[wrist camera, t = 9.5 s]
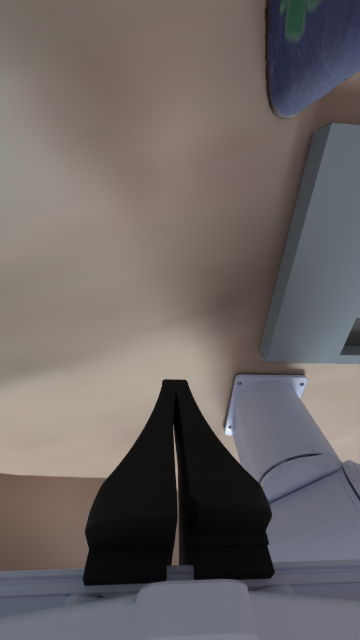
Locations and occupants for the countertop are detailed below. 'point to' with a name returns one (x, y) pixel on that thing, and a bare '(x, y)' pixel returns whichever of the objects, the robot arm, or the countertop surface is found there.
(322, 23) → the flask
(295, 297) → the trap deck
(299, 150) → the countertop surface
